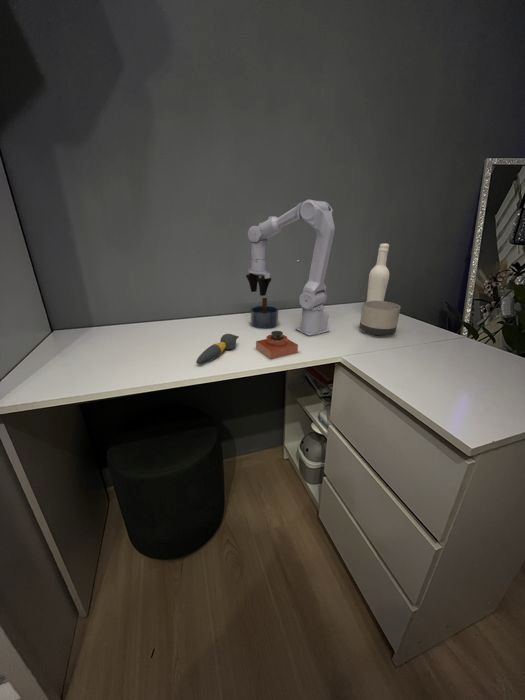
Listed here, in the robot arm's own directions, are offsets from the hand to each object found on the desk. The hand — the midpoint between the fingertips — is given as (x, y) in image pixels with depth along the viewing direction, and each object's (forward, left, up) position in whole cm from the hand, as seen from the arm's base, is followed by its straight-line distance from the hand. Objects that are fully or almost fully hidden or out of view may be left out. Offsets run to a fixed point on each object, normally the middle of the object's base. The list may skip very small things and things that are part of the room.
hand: (258, 293), depth 122 cm
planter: (-30, +37, -11) cm, 49 cm away
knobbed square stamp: (+12, +33, -10) cm, 37 cm away
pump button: (+12, +33, -6) cm, 36 cm away
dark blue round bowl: (+2, +9, -10) cm, 14 cm away
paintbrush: (+29, +27, -11) cm, 41 cm away
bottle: (-45, +22, -11) cm, 51 cm away
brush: (+2, +9, -10) cm, 14 cm away
